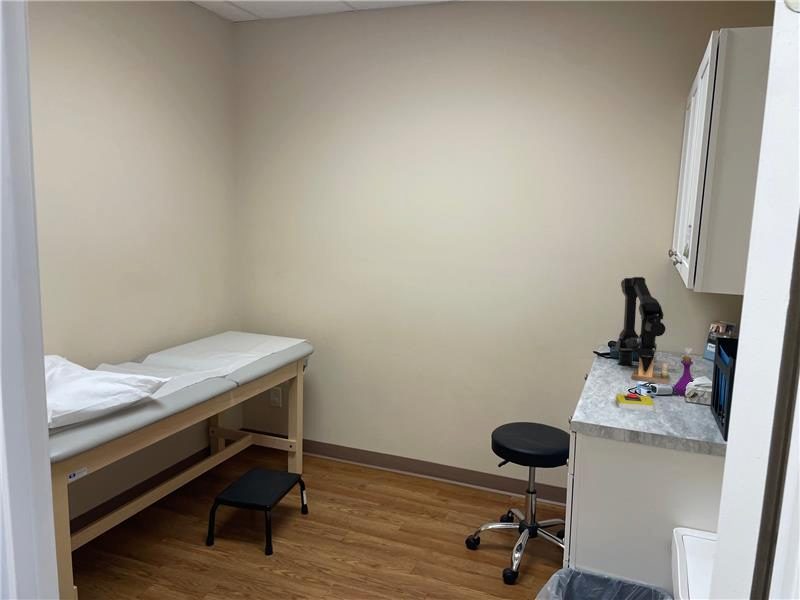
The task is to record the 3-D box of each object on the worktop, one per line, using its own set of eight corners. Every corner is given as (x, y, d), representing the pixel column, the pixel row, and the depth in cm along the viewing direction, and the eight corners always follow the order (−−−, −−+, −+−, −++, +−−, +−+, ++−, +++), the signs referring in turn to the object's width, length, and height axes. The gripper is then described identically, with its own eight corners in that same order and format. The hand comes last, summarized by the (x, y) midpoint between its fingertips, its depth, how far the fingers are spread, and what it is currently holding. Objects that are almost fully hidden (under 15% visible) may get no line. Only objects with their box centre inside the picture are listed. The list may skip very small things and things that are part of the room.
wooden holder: (633, 374, 243) (634, 357, 242) (669, 378, 237) (671, 360, 236) (631, 379, 234) (632, 361, 234) (668, 384, 228) (670, 365, 227)
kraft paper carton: (639, 372, 240) (640, 355, 239) (652, 374, 238) (653, 356, 237) (638, 375, 235) (639, 357, 234) (652, 377, 233) (653, 358, 232)
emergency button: (611, 390, 204) (656, 393, 201) (611, 402, 205) (656, 405, 201) (614, 397, 195) (662, 400, 192) (613, 409, 196) (661, 413, 192)
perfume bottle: (694, 399, 207) (698, 350, 205) (672, 396, 211) (675, 348, 209) (698, 395, 213) (702, 347, 211) (676, 391, 217) (679, 345, 215)
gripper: (629, 326, 246) (627, 362, 248) (625, 333, 230) (622, 371, 231) (657, 329, 241) (655, 365, 243) (655, 336, 225) (652, 375, 227)
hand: (645, 369), depth 236 cm, fingers open, 9 cm apart
